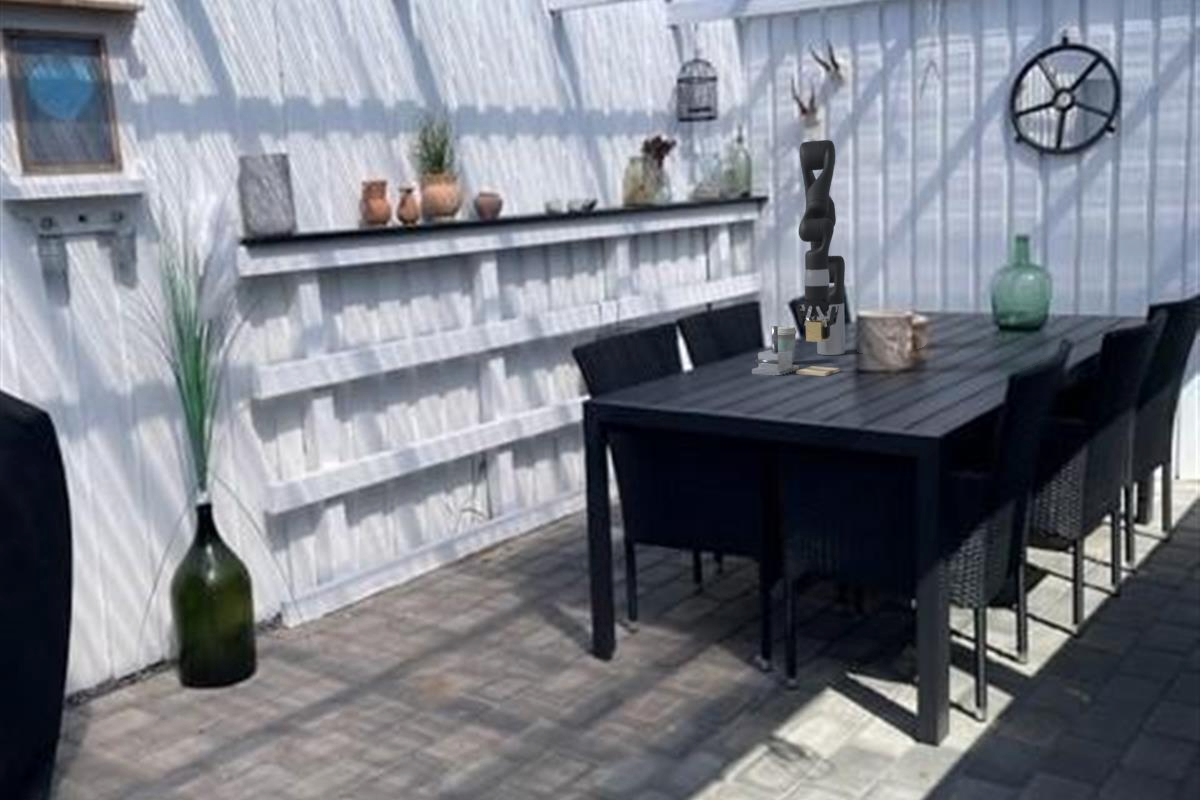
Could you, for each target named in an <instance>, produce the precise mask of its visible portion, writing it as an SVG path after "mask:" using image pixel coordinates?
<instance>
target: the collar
mask: <svg viewBox="0 0 1200 800" xmlns="http://www.w3.org/2000/svg"><path fill="white" fill-rule="evenodd" d="M823 327H824V325H823V322H822V321H821V320H817V319H813V321H808V322H806V335H805V342H813V343H815V342H816V343H817V342H823V341H827V340H829V338H828V339H824V337H823Z"/></svg>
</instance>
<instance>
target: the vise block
mask: <svg viewBox="0 0 1200 800" xmlns="http://www.w3.org/2000/svg"><path fill="white" fill-rule="evenodd" d="M778 326H779V325H773V326H772V325H771V326H770V327H771V329H770V330H771V331H770V333H771V334H772V336H771V349H768V350H764V351H760V352H757V359H755V360H754V363H757V365H758V367H754V368H751V374H752V375H761V376H762V375H763V376H775V375H781V376H783V375H782V374H784V375H787V374H786V373H788V374H790V373H789V372H791V373H793V372H792V371H794V372H796V370H800V368H799V367H800V366H799V364H798V365H797V364H796V365H795V364H792V350H780V349H778ZM771 334H770V335H771Z"/></svg>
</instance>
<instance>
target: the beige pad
mask: <svg viewBox="0 0 1200 800" xmlns="http://www.w3.org/2000/svg"><path fill="white" fill-rule="evenodd" d="M838 372H841V367H830V366H817V365H816V366H815V365H814V366H813V365H812V366H807V367H805V368H800V369H799V370H797V371H795V373H796V375H805V376H817V377H818V376H819V377H820V376H821V377H826V376H829V375H833V374H836V373H838Z"/></svg>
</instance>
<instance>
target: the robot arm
mask: <svg viewBox="0 0 1200 800" xmlns="http://www.w3.org/2000/svg"><path fill="white" fill-rule="evenodd" d="M799 161H800V167H801V173H802V180H803V185H804V193H805V194H804V195H805V210H804V214H803V217H802V219H801V221H800V223H799V226H798V236H799V239H801V241H802V242H805V243H809V244H810V249H809V250H807V251H806V252H805V253H804V254H805V255H804V263H805V264H804V266H805V267H804V269H805V270H804V271H805V272H804V299H805V302H804V304H798V305H796V306H795V308H796V315H797V317H798V318H797V319H798V322H799V324H800V325H803V326H804V327H805V328H804V329H805V331H804V332H805V333H804V334H805V336H806V322H808V321H813V320H815V317H816V320H821V321H822V322H823V325H824V327H823V337H824V339H828V338H829V340H827V341H823V342H816V345H817V347H816V350H817V351H816V352H817V354H818V355H821V356H822V355H823V356H835V355H844V354H845V353H846V325H845V277H846V276H845V275H846V262H845V259H844V256H842V255H829V252H830V246H831V242H832V238H833V235H834V231H835V226H836V223H837V222H836V221H837V220H836V219H837V218H836V209H835V208H836V207H835V206H836V205H835V202H834V200H833V198H832V197H831V196H830V191H831V186H832V185H831V184H832V181H833V176H834V172H835V171H834V170H835V165H836V147H835V143H834V142H833V141H832V140H830V139H822V140H811V141H804V142H801V144H800V146H799ZM821 170H822V171H821ZM814 171H821V172H820V174H819V176H818V177H817V178H816V175H815V174H814ZM830 284H833V285H834V286H833V287H832V288H831V289H830ZM805 311H806V312H807V313H805Z"/></svg>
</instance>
